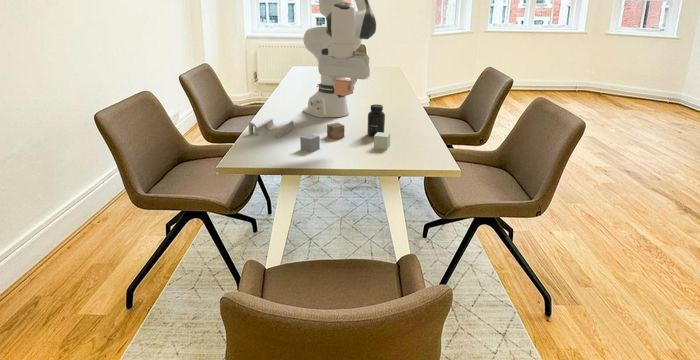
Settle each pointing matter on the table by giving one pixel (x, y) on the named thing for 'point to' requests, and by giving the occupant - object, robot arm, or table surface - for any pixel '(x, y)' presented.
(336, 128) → the walnut cube
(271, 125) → the skate ramp
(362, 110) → the table surface
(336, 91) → the terracotta cube
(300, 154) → the table surface
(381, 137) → the sage cube
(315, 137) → the slate grey cube
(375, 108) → the supplement bottle
